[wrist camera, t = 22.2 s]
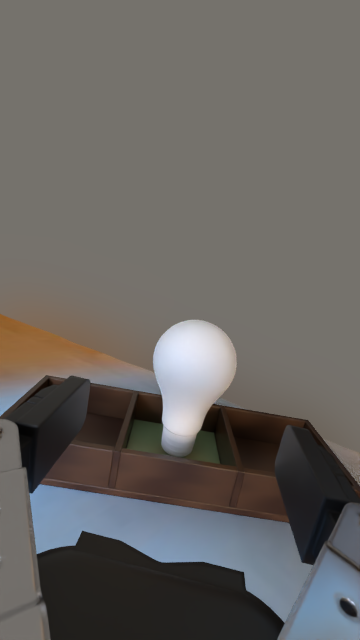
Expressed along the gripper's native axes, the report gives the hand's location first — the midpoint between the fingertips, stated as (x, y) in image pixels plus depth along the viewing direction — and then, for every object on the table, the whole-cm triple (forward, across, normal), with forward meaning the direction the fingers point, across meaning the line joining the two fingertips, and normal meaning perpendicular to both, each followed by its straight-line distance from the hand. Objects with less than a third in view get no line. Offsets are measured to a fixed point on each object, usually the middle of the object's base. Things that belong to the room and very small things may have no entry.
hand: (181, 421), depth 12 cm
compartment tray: (+10, 0, +10) cm, 14 cm away
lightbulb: (+10, 0, +9) cm, 13 cm away
